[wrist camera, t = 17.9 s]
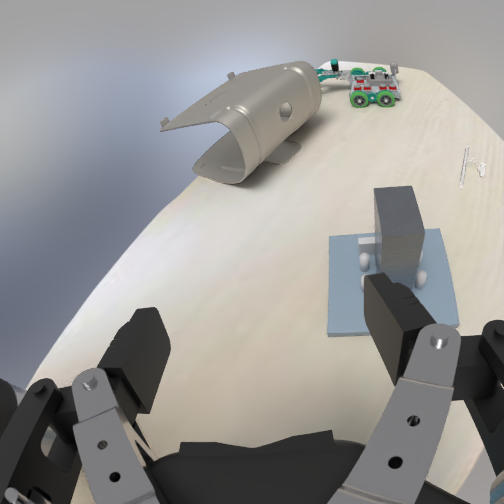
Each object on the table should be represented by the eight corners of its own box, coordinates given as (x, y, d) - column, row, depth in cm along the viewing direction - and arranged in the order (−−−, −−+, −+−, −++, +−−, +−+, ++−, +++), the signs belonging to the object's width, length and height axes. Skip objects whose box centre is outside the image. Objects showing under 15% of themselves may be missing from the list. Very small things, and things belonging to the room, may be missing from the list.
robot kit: (311, 83, 75) (303, 55, 68) (397, 79, 65) (393, 49, 58) (303, 113, 66) (293, 79, 59) (407, 109, 56) (404, 73, 49)
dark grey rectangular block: (378, 299, 33) (381, 236, 24) (374, 257, 37) (373, 188, 28) (410, 297, 32) (425, 233, 23) (404, 255, 35) (411, 185, 26)
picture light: (465, 145, 44) (467, 137, 43) (485, 152, 42) (486, 143, 40) (457, 190, 40) (460, 180, 38) (480, 198, 37) (483, 189, 36)
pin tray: (328, 336, 34) (324, 325, 31) (330, 241, 42) (326, 224, 39) (456, 327, 28) (465, 314, 26) (438, 233, 36) (442, 216, 34)
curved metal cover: (258, 200, 52) (224, 125, 40) (182, 172, 66) (149, 117, 54) (332, 124, 59) (317, 59, 47) (253, 112, 73) (233, 61, 61)
